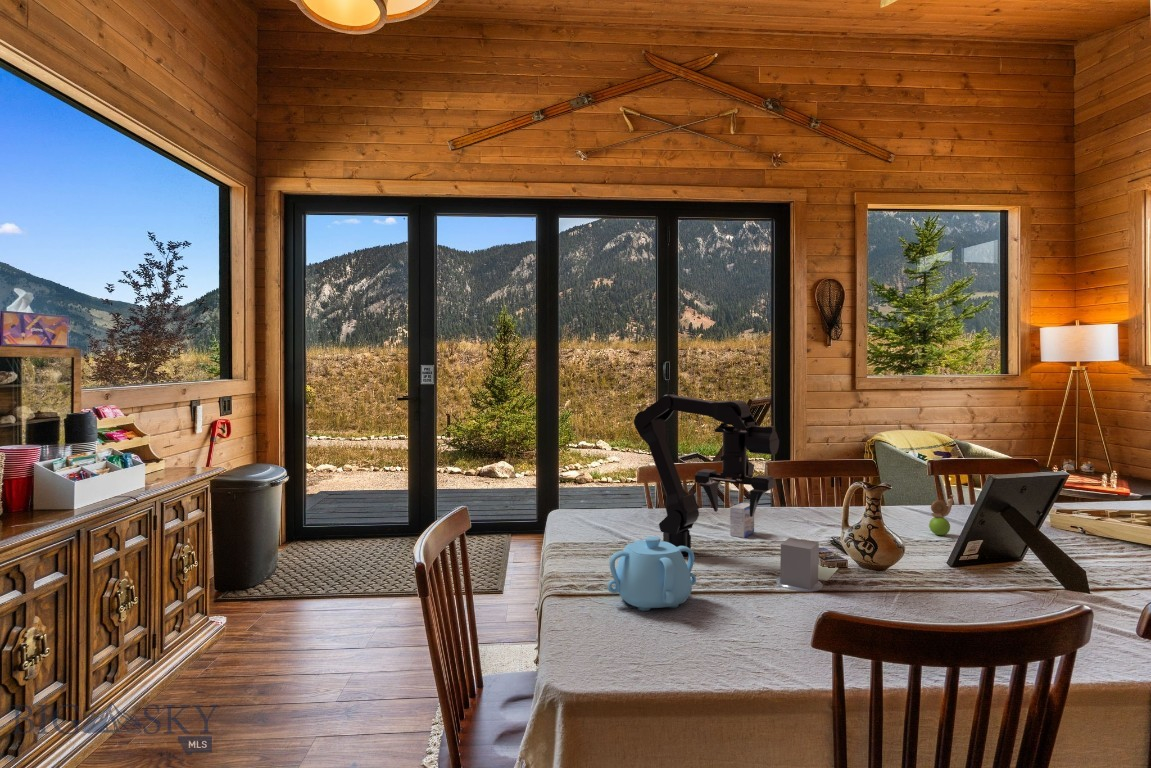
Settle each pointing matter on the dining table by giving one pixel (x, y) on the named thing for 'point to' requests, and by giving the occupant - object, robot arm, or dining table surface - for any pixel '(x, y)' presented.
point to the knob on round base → (814, 588)
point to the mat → (825, 572)
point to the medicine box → (741, 520)
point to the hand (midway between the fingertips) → (733, 513)
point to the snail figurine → (940, 516)
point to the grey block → (799, 563)
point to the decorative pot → (652, 574)
